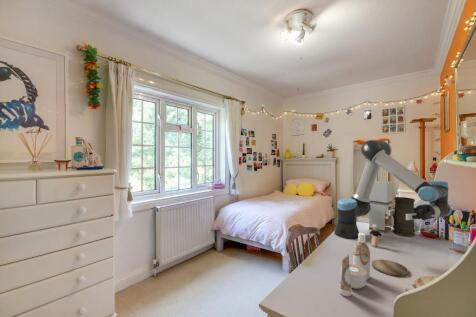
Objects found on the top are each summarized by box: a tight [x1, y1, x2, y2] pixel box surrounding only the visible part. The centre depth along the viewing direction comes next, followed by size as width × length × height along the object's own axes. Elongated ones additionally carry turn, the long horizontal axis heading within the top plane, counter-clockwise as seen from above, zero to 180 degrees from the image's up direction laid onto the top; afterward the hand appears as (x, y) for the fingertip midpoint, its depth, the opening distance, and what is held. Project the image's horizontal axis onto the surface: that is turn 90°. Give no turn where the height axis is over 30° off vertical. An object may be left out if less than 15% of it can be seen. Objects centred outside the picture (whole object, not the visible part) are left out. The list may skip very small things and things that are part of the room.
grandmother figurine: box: [368, 225, 384, 249], centre depth 136 cm, size 8×4×13 cm, turn 47°
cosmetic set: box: [338, 232, 371, 297], centre depth 95 cm, size 25×9×19 cm, turn 135°
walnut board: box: [371, 259, 409, 278], centre depth 109 cm, size 14×14×1 cm
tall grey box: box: [368, 179, 393, 235], centre depth 166 cm, size 11×11×35 cm
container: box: [392, 196, 416, 238], centre depth 116 cm, size 9×9×18 cm
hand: (397, 215), depth 114 cm, fingers closed on container, 8 cm apart
